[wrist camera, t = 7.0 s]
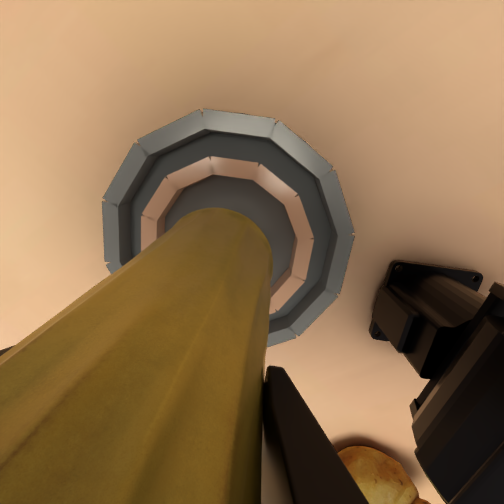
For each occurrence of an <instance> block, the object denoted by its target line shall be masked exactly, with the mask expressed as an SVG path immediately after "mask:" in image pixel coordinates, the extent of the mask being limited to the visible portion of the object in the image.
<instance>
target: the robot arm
mask: <svg viewBox="0 0 504 504" xmlns="http://www.w3.org/2000/svg"><path fill="white" fill-rule="evenodd" d="M398 265H400V268H399V269H397V270H395V268H396V266H398ZM474 276H475V278H474V279H473V280H472V278H473V277H474ZM482 280H483V275H482V274H481V273H479V272H477V271H474V270H467V269H460V268H452V267H445V266H438V265H430V264H423V263H416V262H408V261H401V260H395V261H393V262H392V263H391V264H390V266H389V269H388V272H387V275H386V278H385V282H384V285H383V286H382V287H381V288H380V291H379V294H378V298H377V301H376V304H375V307H374V311H373V314H372V318H373V320H372V323H371V326H370V330H369V333H370V335H371V337H372V338H373V339H376V340H383V341H390V342H391V344H392V345H393V346H394V348H395V349H396V350H397V352H398V353H403V354H404V356H405V357H406V358H407V360H408V361H409V362H410V364H411V365H412V366H413V368H414V369H415V370H416V372H417V373H418V374H419V376H420V377H421V378H424V379H430V381H429V382H428V383H427V385H426V386H425V388H424V389H423V391H422V392H421V394H420V395H419V397H418V398H417V399H414V400H413V401H412V403H411V404H410V410H411V414H412V418H413V423H412V430H413V434H414V438H415V442H416V445H417V448H416V449H415V451H414V452H415V455H416V458H417V460H418V462H419V463H420V465H421V467H422V469H423V471H424V472H425V474H426V476H427V478H428V479H429V480H430V482H431V483H432V485H433V486H434V488H435V489H436V491H437V492H438V494H439V495H440V496H441V498H442V499H443V501H444V502H445V503H446V504H504V285H503V284H500V283H497V282H494V284H493V285H492V286H491V288H490V289H489V291H490V294H489V295H488V297H485V296H483V295H481V294H480V293H478V292H477V291H478V289H479V287H480V285H481V282H482ZM377 331H379V332H378V333H377V334H374V333H375V332H377ZM14 346H15V345H14ZM14 346H11V347H9V348H6V349H3V350H0V356H1V355H3V354H4V353H6V352H7V351H8V350H10V349H11V348H12V347H14ZM261 504H369V502H368V501H367V499H366V498H365V496H364V494H363V493H362V491H361V490H360V488H359V486H358V485H357V483H356V482H355V480H354V479H353V477H352V475H351V474H350V472H349V471H348V469H347V468H346V466H345V464H344V463H343V461H342V460H341V458H340V456H339V455H338V453H337V452H336V450H335V449H334V447H333V445H332V444H331V442H330V441H329V439H328V438H327V436H326V434H325V433H324V431H323V430H322V428H321V426H320V425H319V423H318V422H317V420H316V419H315V417H314V415H313V414H312V412H311V411H310V409H309V408H308V406H307V404H306V403H305V401H304V400H303V398H302V396H301V395H300V393H299V392H298V390H297V389H296V387H295V385H294V384H293V382H292V381H291V379H290V377H289V376H288V374H287V373H286V371H285V370H284V369H283V368H282V367H277V366H268V367H267V370H266V376H265V381H264V404H263V437H262V480H261Z"/></svg>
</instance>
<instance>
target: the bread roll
mask: <svg viewBox="0 0 504 504" xmlns="http://www.w3.org/2000/svg"><path fill="white" fill-rule="evenodd" d="M338 455H339V456H340V458H341V460H342V461H343V463H344V464H345V466H346V468H347V469H348V471H349V472H350V474H351V475H352V477H353V479H354V480H355V482H356V483H357V485H358V486H359V488H360V490H361V491H362V493H363V494H364V496H365V498H366V499H367V501H368V502H369V504H431V503H429V502H428V501H426V500H423V499H421V498H419V493H418V491H417V488H416V487H415V485H414V484H413V483H412V481H411V479H410V477H409V476H408V475H407V473H406V472H405V471H404V469H403V467H402V465H401V464H400V463H399V462H397V461H396V460H394V459H393V458H391V457H389V456H388V455H386V454H384V453H383V452H381V451H379V450H377V449H374V448H370V447H366V446H352V447H347V448H345V449H343V450H342V451H340V452H339V453H338Z"/></svg>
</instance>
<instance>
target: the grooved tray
mask: <svg viewBox="0 0 504 504" xmlns="http://www.w3.org/2000/svg"><path fill="white" fill-rule="evenodd" d="M137 140H138V142H139V143H136V142H134V144H133V146H132V147H131V149H130V151H129V153H128V154H127V156H126V158H125V160H124V161H123V163H122V165H121V167H120V169H119V170H118V172H117V174H116V176H115V177H114V179H113V181H112V183H111V184H110V186H109V188H108V190H107V191H106V193H105V195H104V197H103V199H105V200H106V201H102V214H103V236H104V259H105V262H109V263H108V264H106V266H107V268H108V269H109V271H110V273H111V274H112V273H114V272H115V271H117V270H118V269H120V268H121V267H122V266H124V265H125V264H126V263H128V262H129V261H130V260H132V259H133V258H134V257H135V256H137V255H138V254H139V253H140V252H142V251H143V250H144V249H146V248H147V247H148V246H149V245H150V244H151V243H153V242H154V241H155V240H156V239H158V238H159V237H161V236H162V235H163V234H165V233H166V232H167V231H169V230H170V229H171V228H172V227H173V226H174V225H175V224H176V223H177V222H178V221H179V220H180V219H181V218H182V217H184V216H186V215H187V214H189V213H191V212H194V211H196V210H200V209H205V208H225V209H229V210H232V211H235V212H238V213H240V214H242V215H244V216H246V217H248V218H249V219H251V220H252V221H253V222H254V223H255V224H256V225H257V226H258V227H259V228H260V230H261V231H262V232H263V233H264V235H265V237H266V238H267V240H268V242H269V244H270V248H271V251H272V257H273V275H272V279H271V281H270V290H271V300H270V309H269V332H268V341H267V347H270V346H273V345H276V344H279V343H282V342H285V341H288V340H291V339H295V338H296V335H298V336H300V335H301V334H302V333H303V332H304V331H305V330H306V329H307V328H308V327H309V326H310V325H311V324H312V323H313V322H314V321H315V320H316V319H317V318H318V317H319V315H320V314H321V313H322V312H323V311H324V310H325V309H326V308H327V307H328V306H329V305H330V304H331V303H332V302H333V301H334V300H335V299H336V298H337V297H338V295H337V294H336V293H338V294H340V291H341V287H342V283H343V279H344V275H345V272H346V268H347V264H348V260H349V256H350V252H351V248H352V244H353V241H354V237H355V236H354V235H353V234H352V233H355V232H354V229H353V226H352V222H351V219H350V216H349V213H348V209H347V206H346V203H345V200H344V197H343V193H342V190H341V187H340V184H339V180H338V177H337V174H336V171H335V170H331V168H332V167H333V166H332V165H331V164H330V163H328V162H327V161H326V160H325V159H324V158H323V157H321V156H320V155H319V154H318V153H317V152H316V151H314V150H313V149H312V148H311V147H310V146H309V145H308V144H307V143H306V142H305V141H304V140H302V139H301V138H300V137H298V136H297V135H296V134H295V133H293V132H292V131H291V130H290V129H289V128H288V127H286V126H285V125H284V124H283V123H282V122H281V121H278V122H277V123H275V118H268V117H261V116H253V115H248V114H243V113H232V112H224V111H217V110H210V109H203V112H202V111H201V110H200V109H199V110H197V111H195V112H193V113H191V114H189V115H187V116H184V117H182V118H180V119H178V120H176V121H174V122H172V123H170V124H168V125H166V126H164V127H162V128H160V129H158V130H156V131H154V132H152V133H150V134H148V135H146V136H144V137H142V138H140V139H137Z"/></svg>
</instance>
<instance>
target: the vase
mask: <svg viewBox="0 0 504 504" xmlns="http://www.w3.org/2000/svg"><path fill="white" fill-rule="evenodd" d="M272 275H273V257H272V251H271V248H270V244H269V242H268V240H267V238H266V237H265V235H264V233H263V232H262V231H261V230H260V228H259V227H258V226H257V225H256V224H255V223H254V222H253V221H252V220H251V219H249V218H248V217H246V216H244V215H242V214H240V213H238V212H235V211H232V210H229V209H225V208H205V209H200V210H196V211H194V212H191V213H189V214H187V215H186V216H184V217H182V218H181V219H180V220H179V221H178V222H177V223H176V224H175V225H174V226H173V227H172V228H171V229H170V230H169V231H167V232H166V233H165V234H163V235H162V236H161V237H159V238H158V239H156V240H155V241H154V242H153V243H151V244H150V245H149V246H148V247H147V248H146V249H144V250H143V251H142V252H140V253H139V254H138V255H137V256H135V257H134V258H133V259H132V260H130V261H129V262H128V263H126V264H125V265H124V266H122V267H121V268H120V269H118V270H117V271H115V272H114V273H112V274H111V275H110V276H108V277H107V278H105V279H104V280H103V281H101V282H100V283H98V284H97V285H96V286H94V287H93V288H92V289H90V290H89V291H87V292H86V293H85V294H83V295H82V296H81V297H79V298H78V299H77V300H75V301H74V302H73V303H72V304H70V305H69V306H68V307H66V308H65V309H64V310H62V311H61V312H60V313H58V314H57V315H56V316H54V317H53V318H52V319H50V320H49V321H47V322H46V323H45V324H43V325H42V326H41V327H39V328H38V329H37V330H35V331H34V332H33V333H31V334H30V335H29V336H27V337H26V338H25V339H23V340H22V341H21V342H19V343H18V344H17V345H15V346H14V347H12V348H11V349H10V350H8V351H7V352H6V353H4V354H3V355H1V356H0V504H261V480H262V437H263V404H264V376H265V355H266V349H267V341H268V332H269V309H270V300H271V290H270V281H271V279H272Z"/></svg>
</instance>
